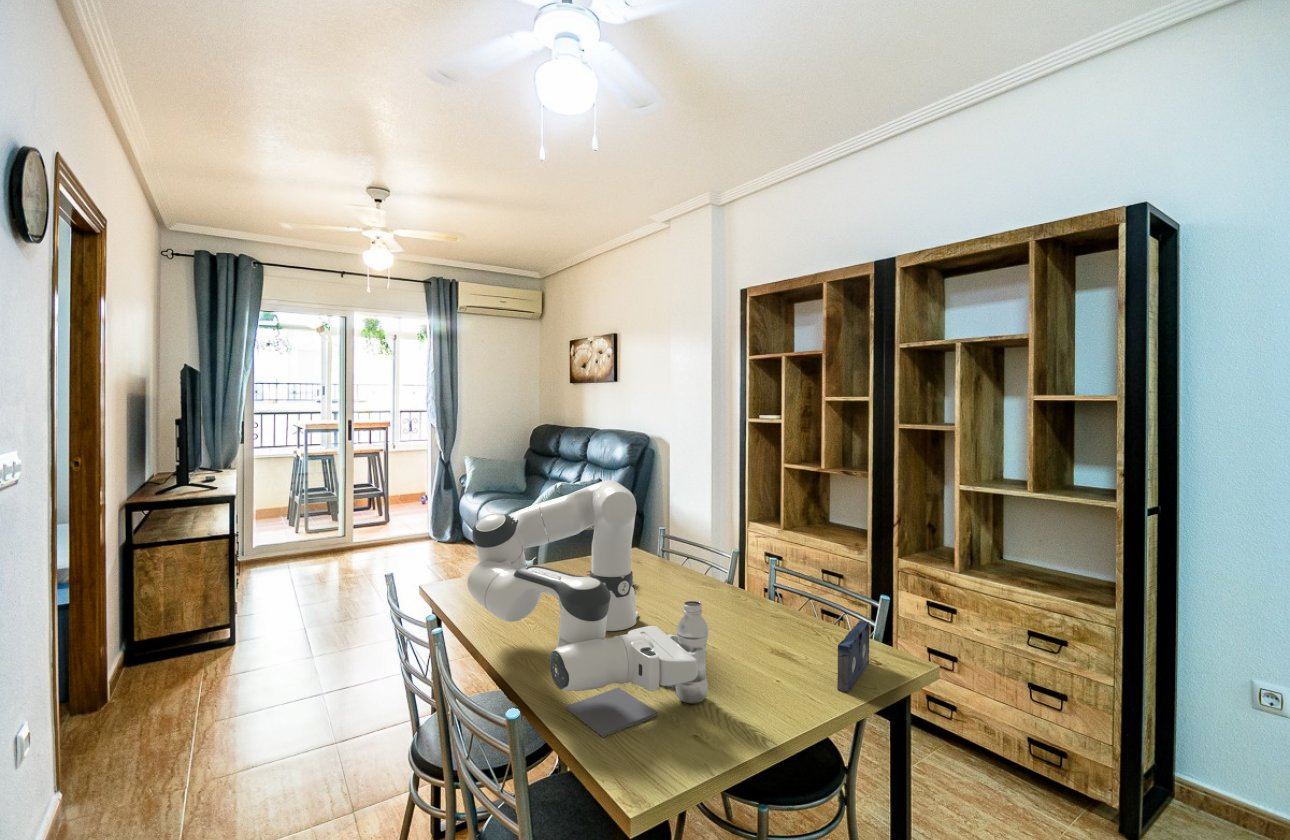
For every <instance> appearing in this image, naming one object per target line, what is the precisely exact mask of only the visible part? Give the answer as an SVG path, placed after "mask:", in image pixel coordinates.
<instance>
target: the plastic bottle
mask: <svg viewBox="0 0 1290 840" xmlns="http://www.w3.org/2000/svg"><path fill="white" fill-rule="evenodd" d="M702 607H703V605H702V602H700V601H697V600H688V601H685V602H683V609H682V612H683V614H684V615H683V616H682V617H681V619H680V620H679V622H678V623H677V625H676V634H677V637H678V645H680V646H681V647H682V648H683V649H684V650H686V651H687V652H691V653H693V652H695V649H700V648H703V649H704V650H705V651H706V652H707V645H708V639H709V633H710V632H709V630H710V628H709V625H708V623H707V622H706V620H705V619H704V617H703V616H702V614H703V609H702ZM706 667H707V666H706V659H704V660H699V661H698V675H697V677H696V678H695V679H694V680H693V681H690V682H686V683H682V684H677V685H676V686H675V687H674V688H675V694H676V697H677V698H678V699H679V701H681V702H683V703H687V704H698V703H701V702H703V701H704V700H705V699H706V697H707V695H708V689H709V685H708V680H707V679H708V678H707V671H706Z"/></svg>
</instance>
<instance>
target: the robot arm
mask: <svg viewBox="0 0 1290 840" xmlns="http://www.w3.org/2000/svg"><path fill="white" fill-rule="evenodd" d="M636 514H637V502H636V498H635V496H634V494H633V493H632V491H631V490H629V488H626V487H625V486H624V485H622V484H621V483H619V482H617V481H615V480H611V479H609V480H607V479H606V480H601V481H598V482H597V483H594V484H593V483H592V484H591V485H588V486H585V487H583V488H581V489H578V490H576V491H574V492H571V493H568V494H565V495H562V496H559V497H556V498H552V499H548V500H545V501H542V502H538V503H535V504H532V505H530V506H527V507H524V508H521V509H519V510H517V511H515V512H513V513H511V514H509V515H508V514H506V513H500V512H499V513H498V512H496V513H495V512H494V513H489V514H487V515H485V516H483V517H481V518H480V519H478V520H477V521H476V523H475V524H474V525H473V527H472V533H471V534H472V535H471V536H472V541H473V542H472V543H473V544H474V547H475V552H476V556H477V559H478V562H479V563H477V564H476V565H475V566H473V568H472V569H471V570H470V572H469V573H468V576H467V580H466V585H467V586H466V587H467V590H468V592H469V594H470V595H471V597H472V598H473V599H474V600H475V601H476V602H477V603H478V604H479V605H480V606H481V608H482V607H483V609H485V610H486V611H487V612H489V613H490V614H492V615H493V616H494V617H496V618H497V619H499V620H502V621H504V622H510V623H512V622H513V623H514V622H519V621H521V620H523V619H525V618H527V617H529V615H530V614H532V613H533V612H534V611H535V609H536V608H537V606H538V605H539V603H540V601H541V597H542V595H543V593H544V594H547V595H551V596H554V597H556V598H557V600H558V605H559V624H558V625H559V626H558V637H557V643H556V644H557V645H556V648H555V649H553V650H552V651H551V654H550V656H549V671H550V675H551V679H552V681H553V682H554V684H555V685H556V687H557V688H558V689H559V690H562V691H566V692H583V691H590V690H597V689H603V688H605V687H606V686H608V685H611V684H618V685H619V684H620V685H623V684H629V683H630V684H632V685H637V686H639V687H641V688H643V689H646V690H647V691H651V692H652V691H653V692H655V691H657V690H659V689H660V686H663V687H669V686H672V685H677V684H682V683H686V682H690V681H693V680H694V679H695V678H696V677H697V675H698V661H699V660H704V659H705V660H706V659H707V650H706V651H705V650H704V649H703V648H700V649H695V652H693V653H691V652H687V651H686V650H684V649H683V648H682V647H681V646H680V645H678V637H677V635H676V634H670V633H669V634H666V632H664V631H663V630H662V629H660V628H659V627H658V626H656V625H647V626H642V627H637V628H634V629H631V630H629V631H628V632H627V634H619V635H615V636H611V637H610V638H607V637H606V635H607V634H606V633H607V632H616V631H622V630H627V629H629V628H632V627H634V626H636V624H637V619H638V617H639V616H640V615H639V611H637V608H636V607H637V606H636V594H635V589H634V586H632V584H633V582H634V580H633V579H634V575H633V571H632V544H633V543H632V542H633V536H634V531H635V521H636ZM591 527H593V536H592V541H591V570H589V571H588V570H587V571H586V573H587V574H586V576H584V575H577V574H576V575H575V574H571V573H569V572H564V571H561V570H557V569H552V568H549V567H546V566H540V565H536V564H534V565H533V564H529V565H528V564H527V561H526V556H525V551H524V550H525V549H527V548H528V549H529V548H533V547H538V546H544V545H546V544H549V543H550V544H551V543H553V542H555V541H556V542H557V541H560V540H563V539H566V538H570V537H573V536H575V535H578V534H580V533H581V532H583V531H585V530H586V529H588V528H591Z"/></svg>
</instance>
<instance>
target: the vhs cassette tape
mask: <svg viewBox="0 0 1290 840" xmlns="http://www.w3.org/2000/svg"><path fill="white" fill-rule="evenodd" d="M870 628H871V626H870V622H868V621H863V620H859V621H858V622H857V623H856V624H855V625H854V626H853V628H851V630H849V631H848V633H847V635H845V637H844V639H843V640H841V641H840V642H839V643H838V644H837V678H836V679H837V681H836V682H837V685H836V686H837V687H836V688H837V691H841V692H843V693H844V692H845V693H847V692H848V694H849V693H850V692H851V690H852V689H853V688H854V686H855V685H856V683H857V682H858V680H859V679H860V677H861V676H860V675H862V674H863V673H864V671H865V670H866V668H867V667H868V665H869V664H870V655H869V654H870V632H871V631H870V630H871V629H870ZM858 678H859V679H858ZM856 681H857V682H856ZM849 691H850V692H849Z"/></svg>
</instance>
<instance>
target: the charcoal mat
mask: <svg viewBox="0 0 1290 840" xmlns="http://www.w3.org/2000/svg"><path fill="white" fill-rule="evenodd" d="M565 709H566V710H567V711H568V712H569V713H571V714H572V715H573V714H574V715H575V716H574V715H573V716H574V717H576V716H577V717H578V718H579V719H578V718H577V717H576V718H577V719H578V720H579V721H581V720H582V721H583V722H584V723H583V722H582V721H581V722H582V723H583V724H585V723H586V724H587V725H588V726H587V725H586V724H585V725H586V726H587V727H589V728H590V727H591V728H592V729H593V730H592V729H591V728H590V729H591V730H592V731H594V732H595V731H596V732H597V733H598V735H599V734H600V735H601V736H602V737H601V736H600V735H599V736H600V737H601V738H605V737H604V736H606V737H608V736H610V735H609V734H611V735H613V734H615V733H614V732H616V731H618V732H621V731H623V730H625V729H627V727H628V728H630V727H633V726H636V725H638V724H639V723H643V722H645V721H647V720H649V719H650V720H651V719H652V718H654V717H657V716H658V715H659V714H658V713H659V712H658V711H656V710H655V709H653V708H651V707H650V706H649V705H647V704H646V703H644V702H643V701H641V700H639V699H638V698H637V697H635V696H633V695H632V694H631V693H629V692H627V691H625V690H623V689H622V688H621V687H616V688H613V689H610V690H607V691H604V692H602V693H598V694H596V695H592V696H589V697H588V698H587V697H586V698H585V699H582V700H579V701H576V702H573V703H570V704H568V705H567V704H566V706H565ZM642 721H643V722H642ZM596 732H595V733H596ZM597 733H596V734H597ZM612 733H613V734H612ZM616 733H617V732H616ZM607 735H608V736H607Z"/></svg>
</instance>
